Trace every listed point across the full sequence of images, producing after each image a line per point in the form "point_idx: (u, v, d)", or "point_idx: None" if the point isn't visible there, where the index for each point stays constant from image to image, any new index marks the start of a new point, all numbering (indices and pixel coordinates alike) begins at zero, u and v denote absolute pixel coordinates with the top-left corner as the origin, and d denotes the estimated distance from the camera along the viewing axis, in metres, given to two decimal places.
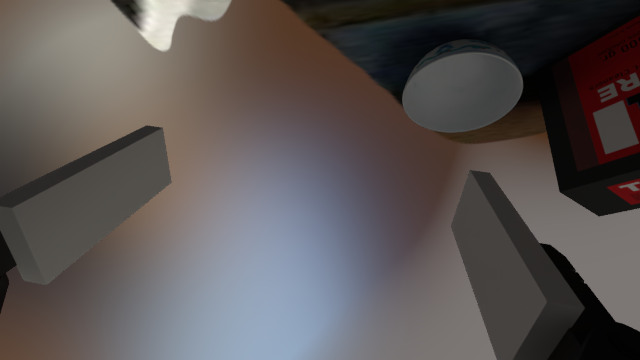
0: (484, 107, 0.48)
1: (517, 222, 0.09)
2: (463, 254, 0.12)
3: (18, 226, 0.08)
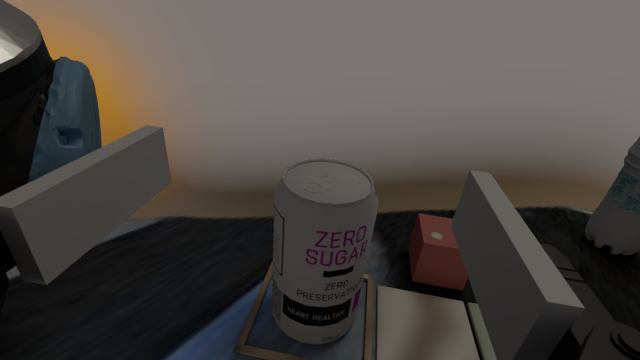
0: None
1: (517, 222, 0.09)
2: (463, 254, 0.12)
3: (18, 226, 0.08)
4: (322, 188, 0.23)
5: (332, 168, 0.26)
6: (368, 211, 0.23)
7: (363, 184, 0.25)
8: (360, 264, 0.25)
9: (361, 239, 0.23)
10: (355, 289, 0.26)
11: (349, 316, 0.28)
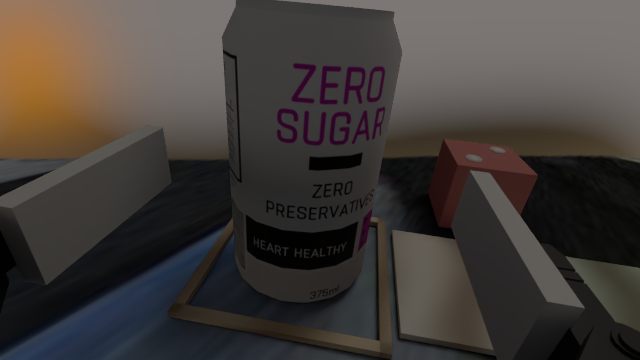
0: None
1: (517, 222, 0.09)
2: (464, 255, 0.12)
3: (18, 226, 0.08)
4: None
5: None
6: (388, 41, 0.13)
7: None
8: (373, 157, 0.15)
9: (376, 98, 0.13)
10: (364, 206, 0.16)
11: (354, 257, 0.18)
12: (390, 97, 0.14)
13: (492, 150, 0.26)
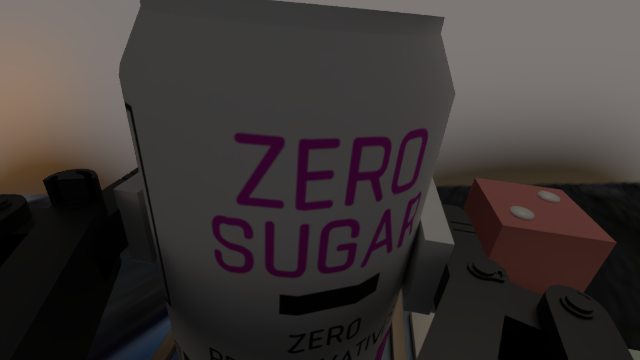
0: None
1: (429, 186, 0.11)
2: None
3: (138, 209, 0.10)
4: None
5: None
6: (435, 77, 0.06)
7: None
8: (396, 270, 0.09)
9: (409, 185, 0.07)
10: (379, 338, 0.10)
11: None
12: (430, 171, 0.08)
13: (542, 197, 0.20)
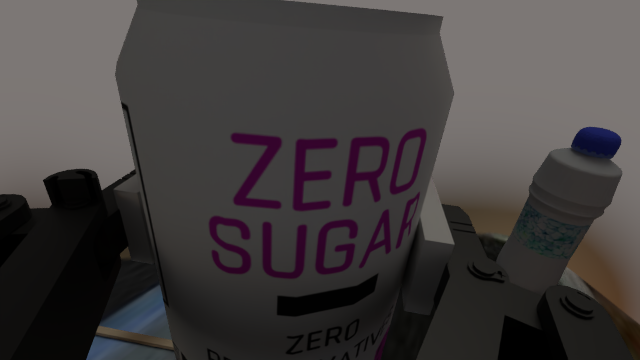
0: None
1: (428, 186, 0.11)
2: None
3: (138, 209, 0.10)
4: None
5: None
6: (434, 77, 0.06)
7: None
8: (395, 271, 0.08)
9: (407, 186, 0.07)
10: (377, 339, 0.10)
11: None
12: (429, 171, 0.08)
13: None
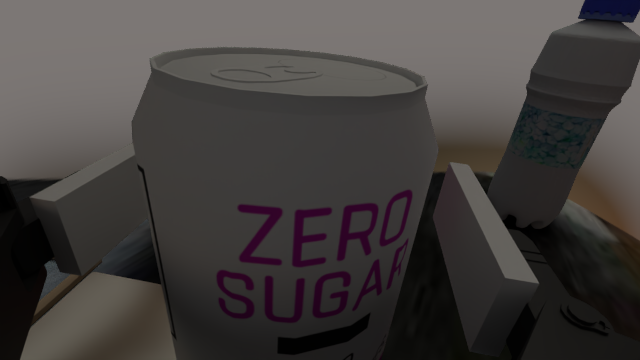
0: None
1: (487, 209, 0.10)
2: (442, 242, 0.12)
3: (59, 219, 0.09)
4: (271, 78, 0.08)
5: (310, 61, 0.11)
6: (418, 144, 0.07)
7: (394, 81, 0.09)
8: (386, 307, 0.09)
9: (395, 237, 0.08)
10: None
11: None
12: (417, 218, 0.09)
13: None
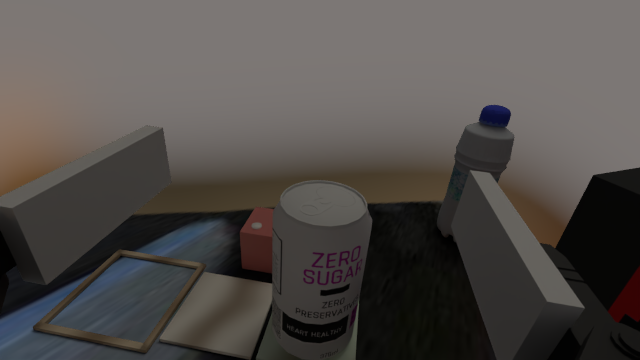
0: None
1: (517, 222, 0.09)
2: (464, 255, 0.12)
3: (18, 226, 0.08)
4: (318, 210, 0.25)
5: (327, 189, 0.28)
6: (361, 232, 0.24)
7: (357, 205, 0.26)
8: (356, 282, 0.26)
9: (356, 258, 0.25)
10: (352, 306, 0.27)
11: (347, 332, 0.29)
12: (365, 251, 0.26)
13: None
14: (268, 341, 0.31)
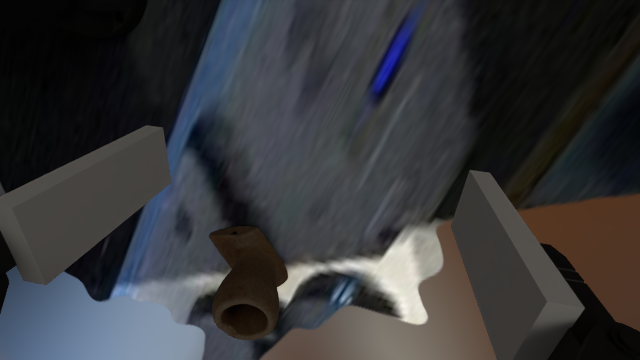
0: None
1: (517, 222, 0.09)
2: (463, 254, 0.12)
3: (18, 226, 0.08)
4: None
5: None
6: None
7: None
8: None
9: None
10: None
11: None
12: None
13: None
14: None
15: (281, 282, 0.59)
